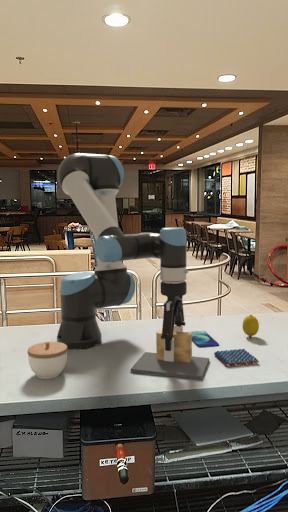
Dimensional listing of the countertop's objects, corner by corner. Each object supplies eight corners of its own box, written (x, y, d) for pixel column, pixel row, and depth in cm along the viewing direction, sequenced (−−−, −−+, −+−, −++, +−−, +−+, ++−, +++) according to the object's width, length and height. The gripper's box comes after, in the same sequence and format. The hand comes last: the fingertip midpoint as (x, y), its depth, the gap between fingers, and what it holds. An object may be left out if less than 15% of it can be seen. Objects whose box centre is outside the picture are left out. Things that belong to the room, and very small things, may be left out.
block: (156, 359, 126) (156, 333, 125) (159, 355, 129) (158, 330, 128) (189, 362, 123) (189, 335, 122) (191, 358, 126) (191, 332, 125)
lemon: (239, 335, 150) (239, 313, 149) (251, 333, 152) (252, 312, 151) (248, 340, 145) (249, 317, 144) (262, 338, 147) (262, 315, 146)
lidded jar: (70, 366, 124) (69, 335, 122) (64, 382, 113) (63, 348, 112) (33, 367, 123) (32, 336, 122) (24, 383, 113) (22, 349, 112)
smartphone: (198, 346, 139) (184, 332, 153) (198, 349, 139) (184, 334, 153) (220, 344, 140) (204, 330, 155) (220, 347, 140) (204, 333, 155)
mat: (130, 372, 119) (130, 368, 119) (145, 355, 132) (145, 352, 132) (201, 380, 113) (201, 376, 113) (209, 361, 127) (209, 358, 126)
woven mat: (260, 365, 124) (260, 359, 123) (226, 369, 122) (226, 362, 121) (244, 353, 134) (244, 347, 134) (212, 356, 132) (212, 350, 131)
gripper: (177, 289, 111) (177, 369, 113) (193, 274, 133) (193, 341, 136) (149, 288, 113) (150, 367, 116) (170, 273, 135) (170, 339, 138)
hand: (173, 353), depth 126 cm, fingers open, 11 cm apart
